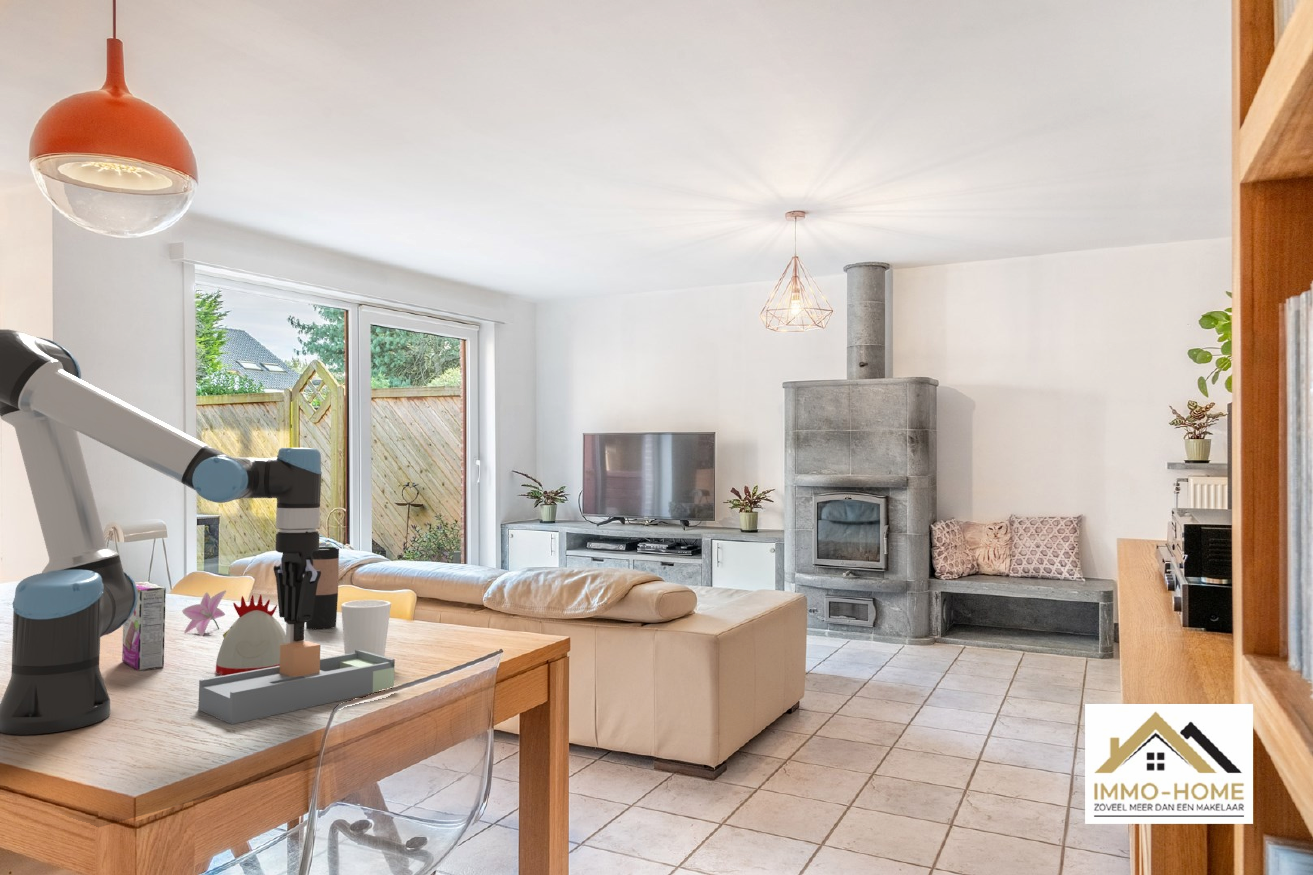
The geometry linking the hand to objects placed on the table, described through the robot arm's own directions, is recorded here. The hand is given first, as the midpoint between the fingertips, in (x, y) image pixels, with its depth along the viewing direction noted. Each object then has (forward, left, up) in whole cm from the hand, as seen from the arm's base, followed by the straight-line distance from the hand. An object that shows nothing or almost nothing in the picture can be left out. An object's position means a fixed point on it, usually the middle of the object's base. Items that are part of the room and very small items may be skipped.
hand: (294, 657), depth 159 cm
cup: (+20, +8, -6) cm, 22 cm away
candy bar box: (-11, +40, -6) cm, 42 cm away
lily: (+12, +67, -6) cm, 68 cm away
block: (-1, -4, -2) cm, 4 cm away
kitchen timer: (+3, +21, -6) cm, 22 cm away
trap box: (-2, -7, -6) cm, 9 cm away
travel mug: (+35, +52, -6) cm, 63 cm away
